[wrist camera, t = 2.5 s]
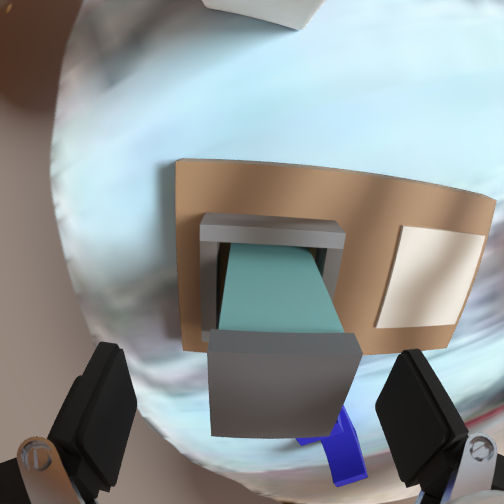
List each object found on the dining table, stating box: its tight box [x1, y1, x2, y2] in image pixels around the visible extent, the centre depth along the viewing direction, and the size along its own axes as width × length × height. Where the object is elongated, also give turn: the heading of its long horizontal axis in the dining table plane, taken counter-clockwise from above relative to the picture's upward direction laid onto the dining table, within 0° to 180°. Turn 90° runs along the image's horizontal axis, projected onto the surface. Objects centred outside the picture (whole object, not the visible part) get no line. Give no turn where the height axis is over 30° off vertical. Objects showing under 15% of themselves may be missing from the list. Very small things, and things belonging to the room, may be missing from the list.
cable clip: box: [295, 405, 368, 487], centre depth 22 cm, size 12×4×6 cm, turn 26°
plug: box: [207, 243, 363, 439], centre depth 13 cm, size 4×4×9 cm
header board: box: [175, 158, 496, 355], centre depth 17 cm, size 20×12×4 cm, turn 86°
